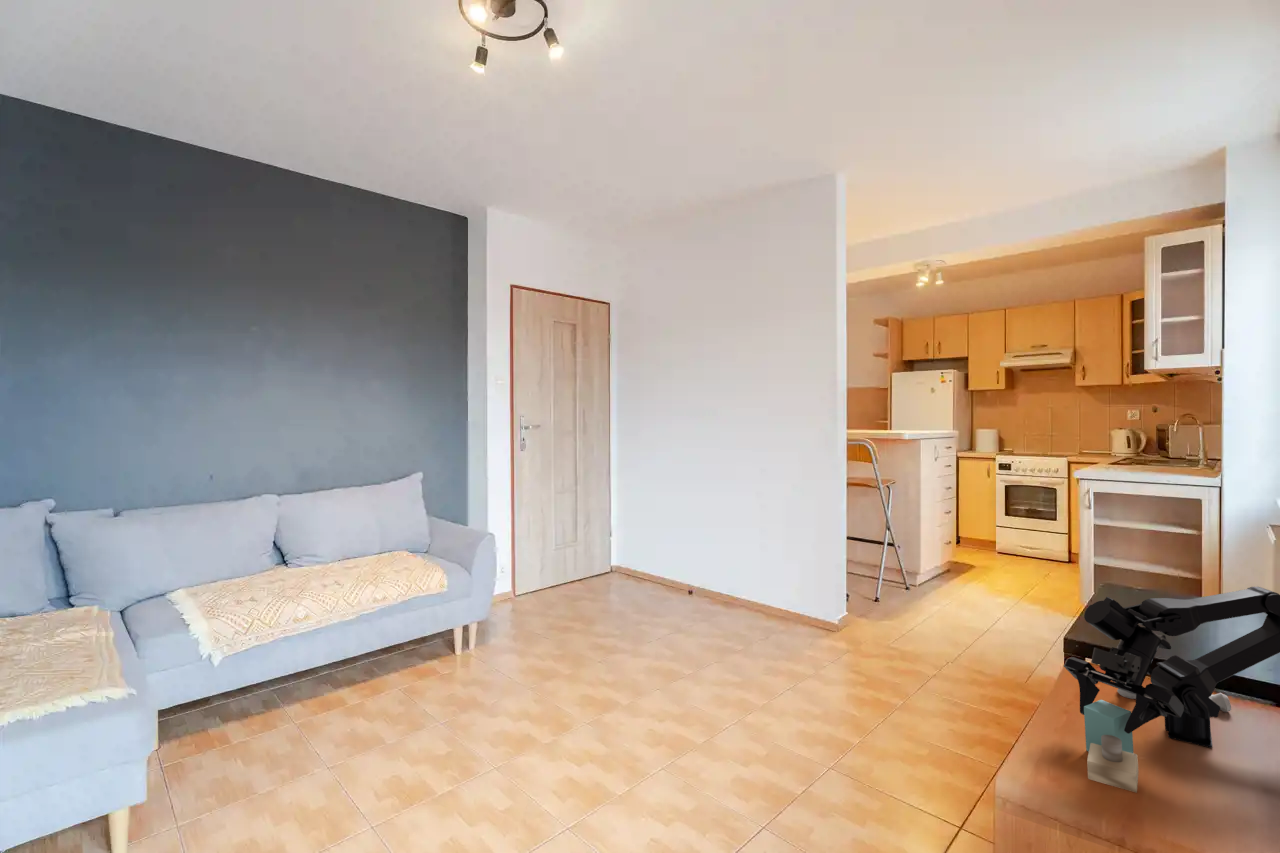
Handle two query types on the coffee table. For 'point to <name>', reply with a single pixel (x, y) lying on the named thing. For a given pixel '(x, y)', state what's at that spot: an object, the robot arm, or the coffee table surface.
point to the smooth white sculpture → (1221, 701)
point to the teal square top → (1106, 724)
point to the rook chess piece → (1126, 694)
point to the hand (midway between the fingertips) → (1103, 722)
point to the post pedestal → (1113, 764)
